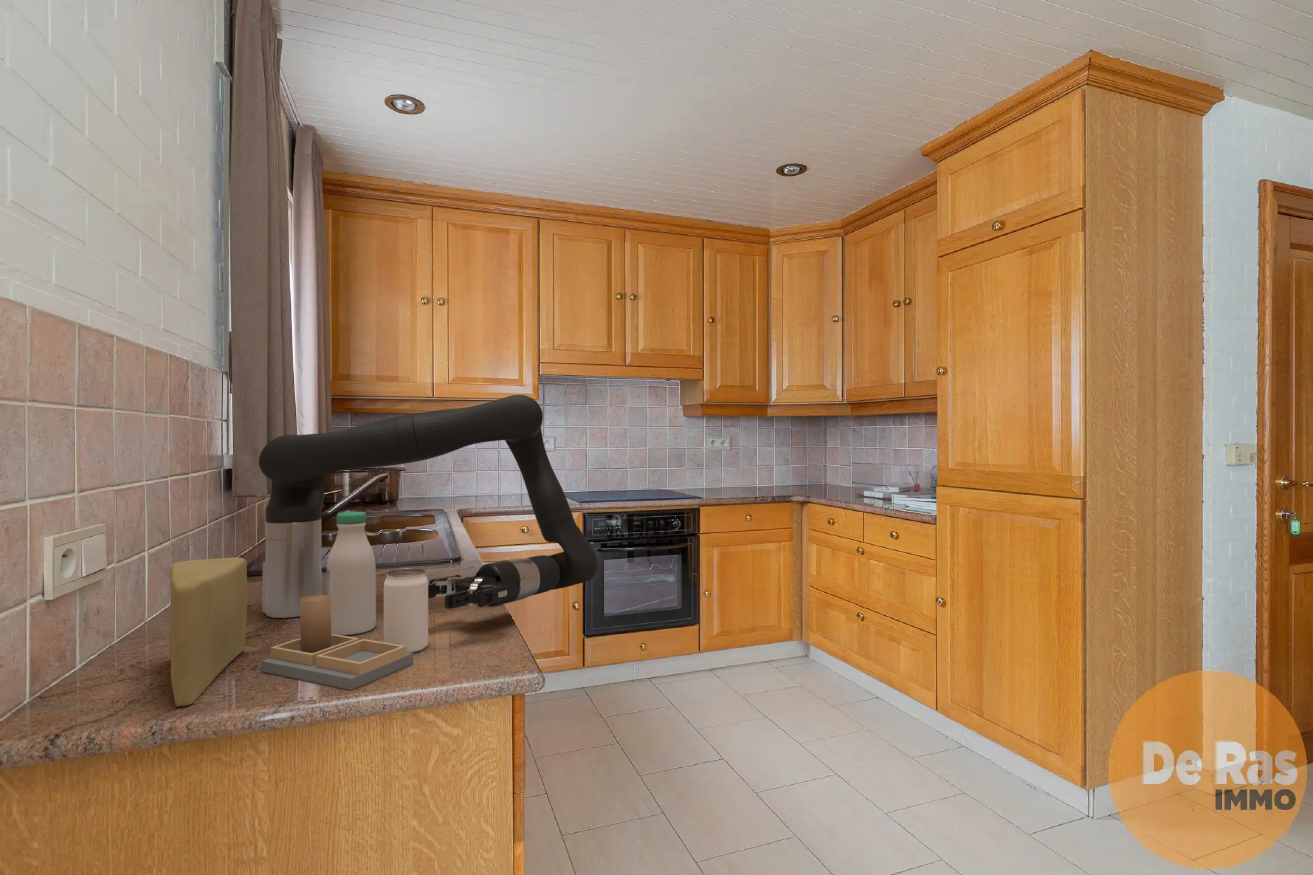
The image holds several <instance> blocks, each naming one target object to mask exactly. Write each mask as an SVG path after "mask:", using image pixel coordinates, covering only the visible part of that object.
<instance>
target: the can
mask: <svg viewBox="0 0 1313 875" xmlns="http://www.w3.org/2000/svg"><path fill="white" fill-rule="evenodd" d="M383 582H384V584H383V642H384V643H391V644H397V645H403V646H406V652H407V653H413V654H414V653H415V654H416V653H418V652H421V651H423V650H424V649H426V648H427V646H428V645H429V599H428V584H429V580H428V578H427V576H426V570H425V569H423V568H417V567H409V568H406V567H405V568H398V569H397V568H396V569H392V570H389V571H387V572H386V578H385V580H384V581H383Z"/></svg>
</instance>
